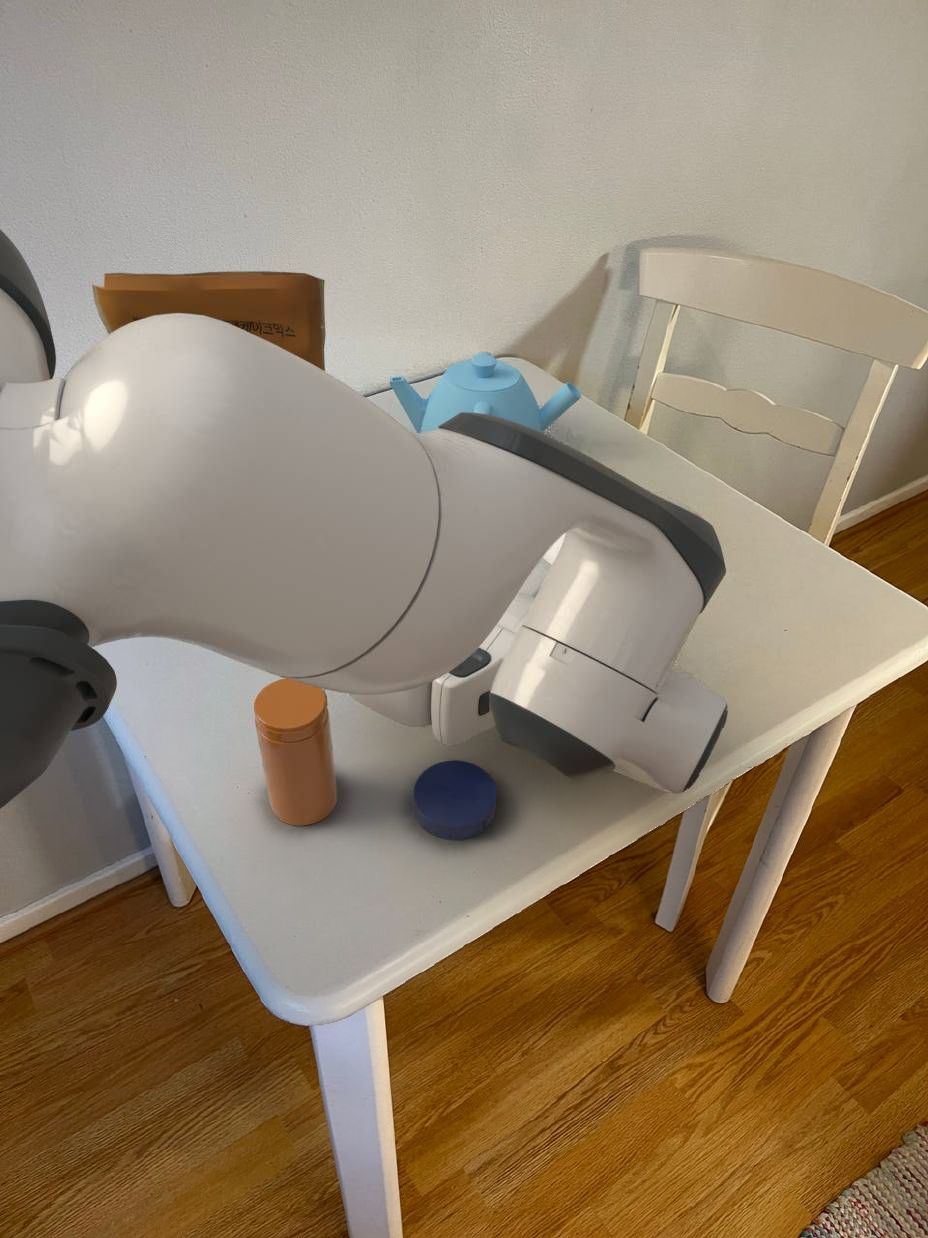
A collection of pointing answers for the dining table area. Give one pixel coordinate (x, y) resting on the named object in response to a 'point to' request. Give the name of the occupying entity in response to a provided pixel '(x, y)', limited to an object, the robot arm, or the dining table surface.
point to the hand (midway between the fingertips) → (378, 583)
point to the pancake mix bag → (225, 304)
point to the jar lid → (455, 799)
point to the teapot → (482, 396)
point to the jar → (296, 751)
